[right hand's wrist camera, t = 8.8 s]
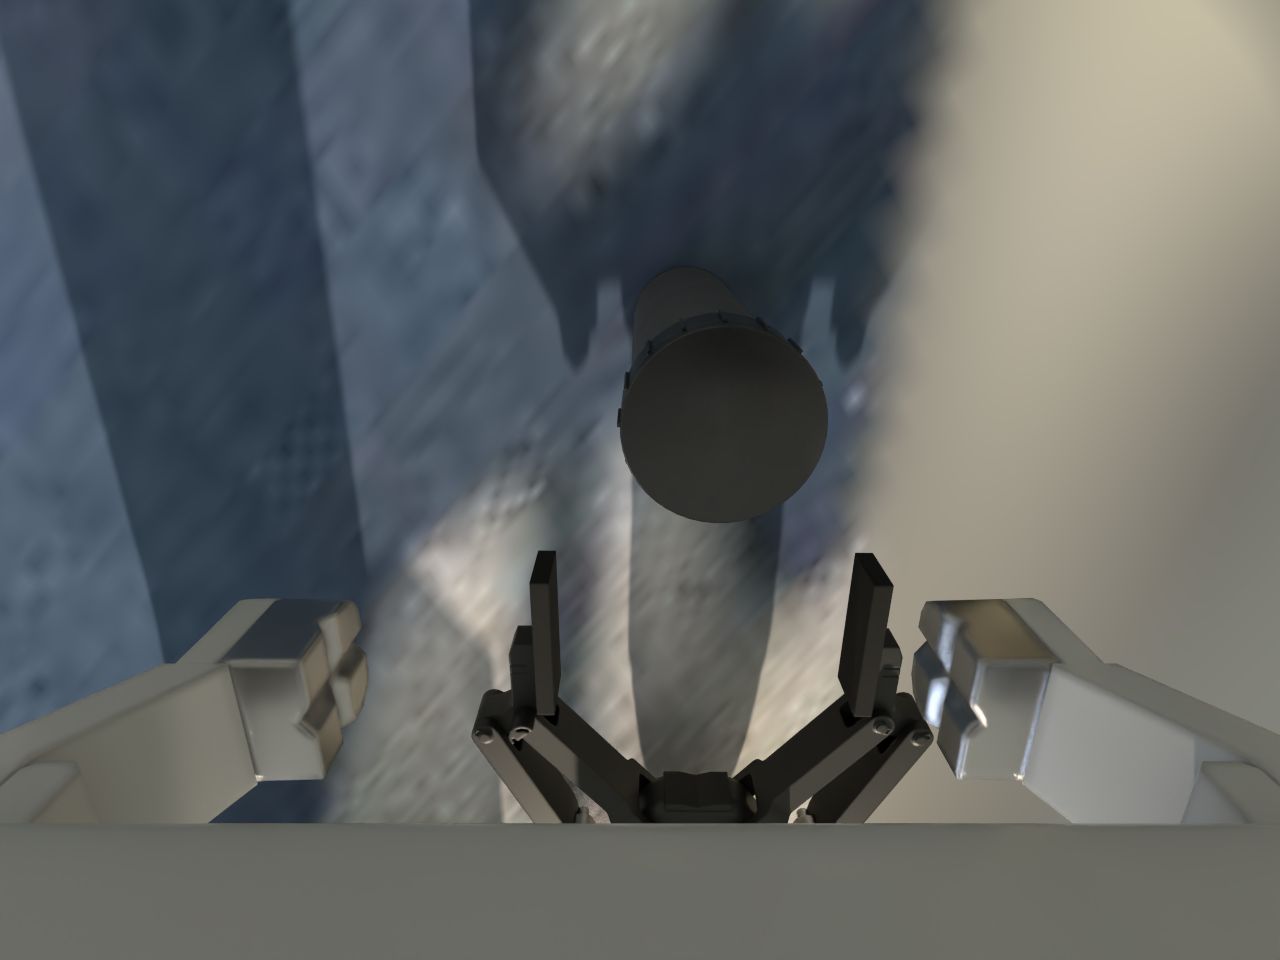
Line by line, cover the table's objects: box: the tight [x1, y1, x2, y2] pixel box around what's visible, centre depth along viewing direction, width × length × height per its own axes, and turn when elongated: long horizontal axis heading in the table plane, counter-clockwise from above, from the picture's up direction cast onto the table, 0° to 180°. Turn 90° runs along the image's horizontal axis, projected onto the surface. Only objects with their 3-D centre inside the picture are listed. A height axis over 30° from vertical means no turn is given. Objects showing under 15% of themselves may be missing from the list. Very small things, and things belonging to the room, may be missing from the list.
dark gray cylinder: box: [632, 267, 755, 365], centre depth 25 cm, size 5×5×15 cm
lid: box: [617, 310, 828, 523], centre depth 18 cm, size 5×5×2 cm
